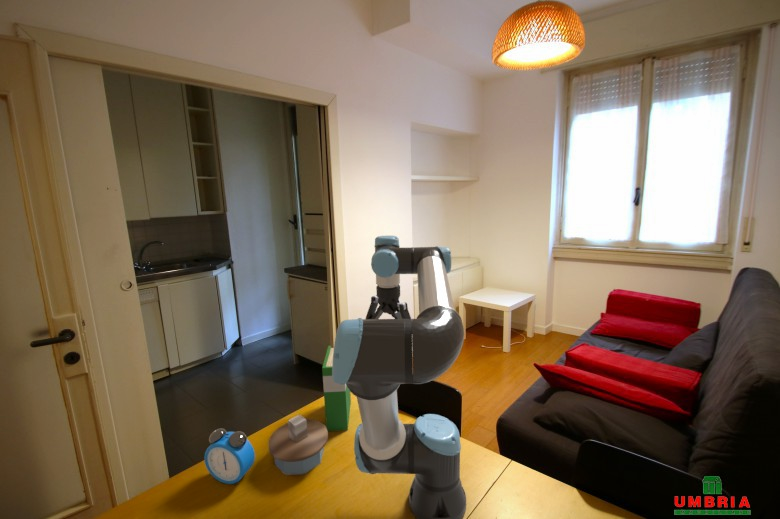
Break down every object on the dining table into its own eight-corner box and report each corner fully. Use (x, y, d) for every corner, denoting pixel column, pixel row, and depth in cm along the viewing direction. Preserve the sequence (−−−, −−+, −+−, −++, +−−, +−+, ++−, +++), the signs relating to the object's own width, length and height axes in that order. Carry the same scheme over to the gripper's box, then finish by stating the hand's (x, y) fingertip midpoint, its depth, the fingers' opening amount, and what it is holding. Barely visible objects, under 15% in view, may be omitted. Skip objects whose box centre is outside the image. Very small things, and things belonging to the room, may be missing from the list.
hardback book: (332, 402, 144) (328, 345, 140) (350, 401, 145) (347, 344, 140) (326, 431, 127) (322, 368, 122) (347, 430, 127) (344, 367, 123)
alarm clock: (206, 480, 107) (199, 435, 104) (221, 465, 112) (215, 422, 110) (245, 489, 103) (239, 442, 100) (258, 472, 109) (253, 428, 106)
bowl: (331, 456, 115) (330, 439, 114) (292, 482, 105) (290, 464, 104) (306, 436, 125) (305, 420, 124) (268, 458, 115) (266, 441, 114)
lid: (339, 439, 114) (338, 418, 112) (288, 471, 101) (286, 449, 100) (307, 415, 126) (305, 396, 125) (258, 441, 114) (256, 421, 112)
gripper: (426, 289, 109) (427, 354, 113) (369, 276, 126) (372, 334, 130) (410, 294, 103) (411, 363, 107) (353, 281, 120) (356, 340, 125)
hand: (390, 347), depth 119 cm, fingers open, 13 cm apart
